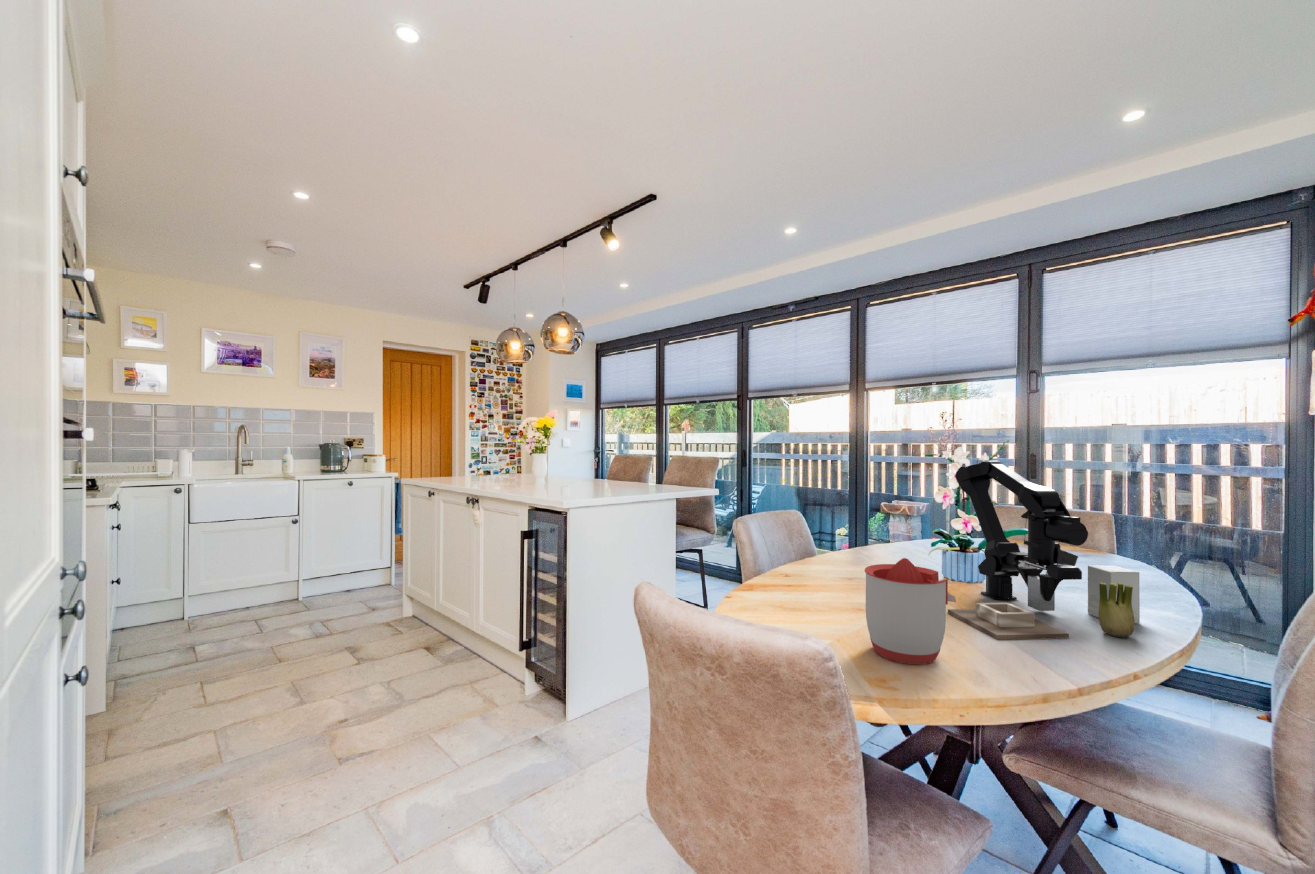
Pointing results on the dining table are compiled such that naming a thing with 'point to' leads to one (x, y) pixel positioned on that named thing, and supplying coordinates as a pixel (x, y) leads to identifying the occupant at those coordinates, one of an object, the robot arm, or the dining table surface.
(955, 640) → the dining table surface
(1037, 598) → the metal peg
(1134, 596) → the supplement box
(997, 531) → the robot arm
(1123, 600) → the fennel bulb
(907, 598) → the citrus juicer
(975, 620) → the socket board
